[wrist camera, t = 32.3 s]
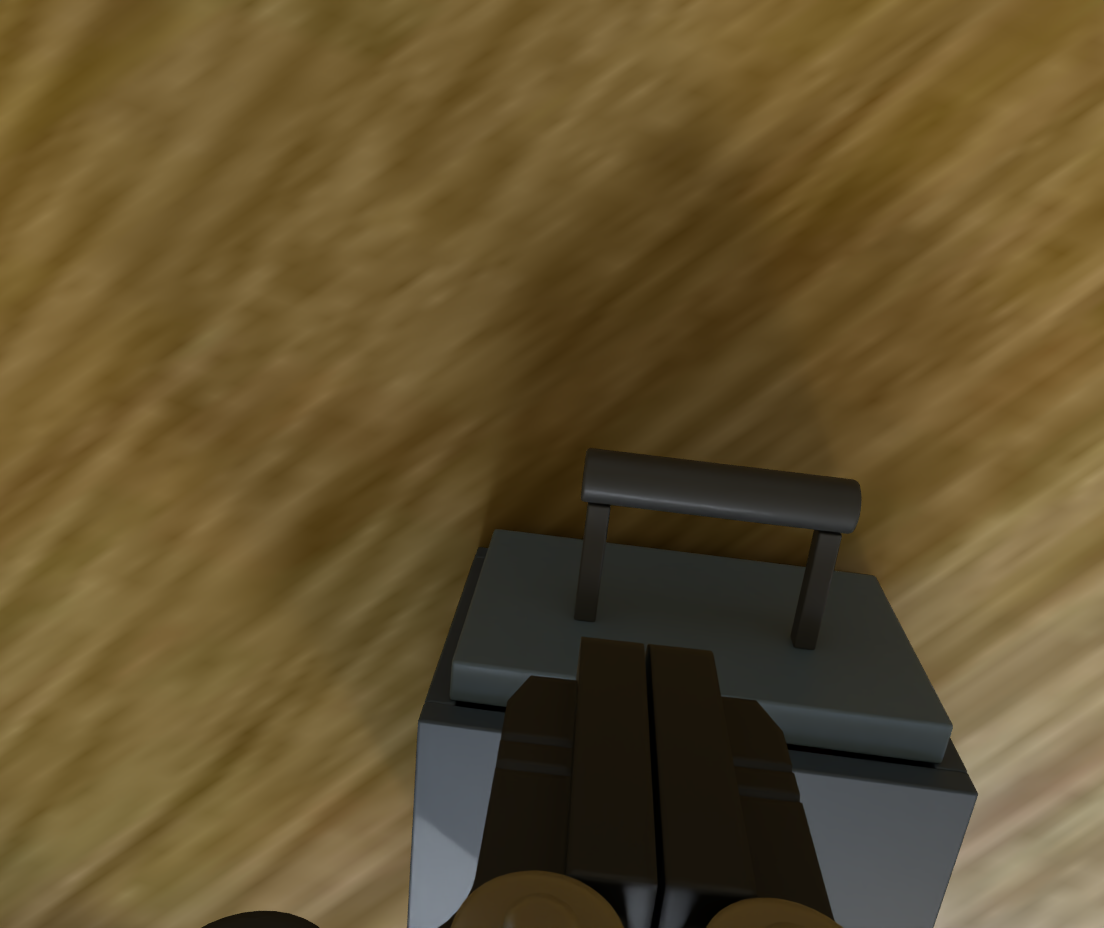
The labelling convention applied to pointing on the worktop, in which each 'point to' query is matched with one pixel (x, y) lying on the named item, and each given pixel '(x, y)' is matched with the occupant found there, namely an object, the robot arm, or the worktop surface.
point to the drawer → (710, 607)
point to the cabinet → (826, 793)
